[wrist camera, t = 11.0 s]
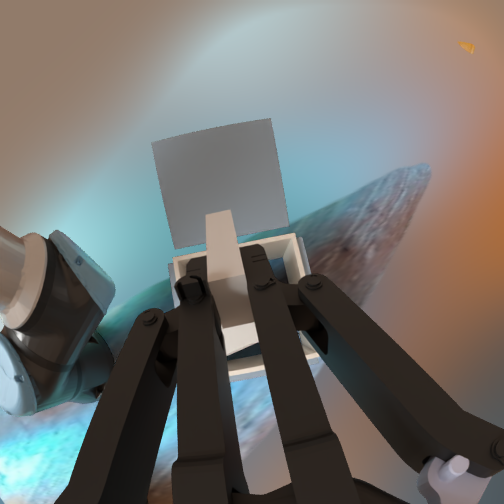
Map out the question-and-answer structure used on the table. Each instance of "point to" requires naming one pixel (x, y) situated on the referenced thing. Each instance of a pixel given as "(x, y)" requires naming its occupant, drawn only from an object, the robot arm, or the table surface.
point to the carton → (295, 270)
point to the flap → (221, 180)
